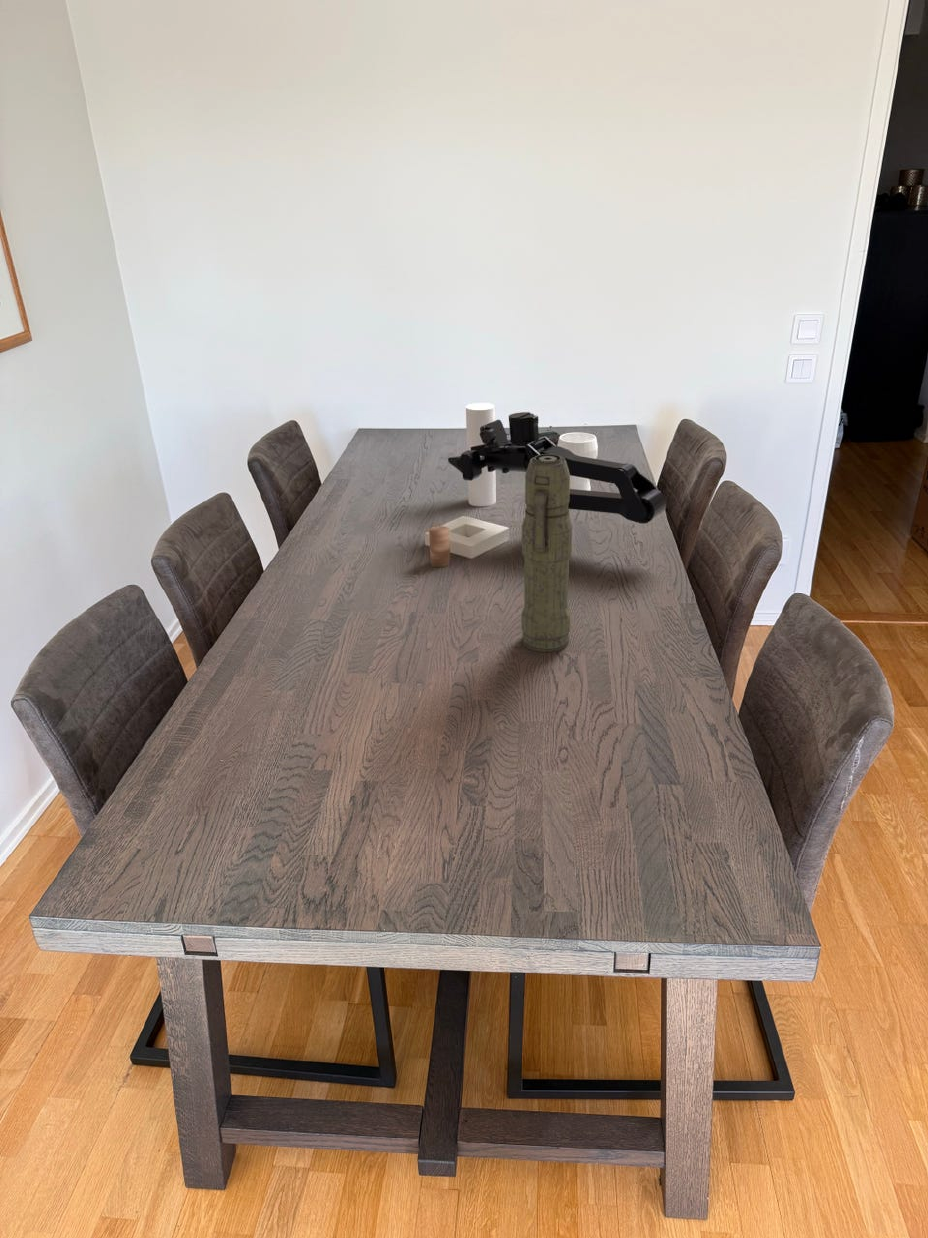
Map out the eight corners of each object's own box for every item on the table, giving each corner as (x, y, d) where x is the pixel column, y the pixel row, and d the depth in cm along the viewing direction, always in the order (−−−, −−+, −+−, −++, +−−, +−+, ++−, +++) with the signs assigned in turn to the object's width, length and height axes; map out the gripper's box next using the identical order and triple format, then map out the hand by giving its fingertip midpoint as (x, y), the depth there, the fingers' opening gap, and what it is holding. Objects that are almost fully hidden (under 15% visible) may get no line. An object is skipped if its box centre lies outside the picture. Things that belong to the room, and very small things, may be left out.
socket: (509, 539, 216) (509, 527, 214) (471, 558, 206) (471, 546, 205) (463, 527, 224) (463, 515, 223) (425, 544, 214) (424, 532, 213)
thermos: (517, 654, 166) (516, 467, 150) (526, 625, 176) (526, 447, 161) (566, 658, 164) (570, 469, 149) (572, 628, 175) (577, 448, 159)
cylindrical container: (493, 506, 236) (491, 410, 225) (466, 505, 238) (463, 409, 226) (497, 497, 242) (496, 403, 231) (471, 496, 244) (468, 402, 233)
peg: (454, 562, 205) (453, 528, 201) (441, 568, 202) (440, 534, 198) (439, 557, 207) (438, 524, 204) (426, 564, 204) (424, 530, 201)
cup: (598, 498, 239) (600, 442, 233) (557, 499, 240) (558, 443, 233) (594, 485, 249) (596, 431, 242) (554, 486, 249) (555, 432, 242)
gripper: (532, 413, 215) (478, 411, 224) (487, 434, 202) (431, 431, 210) (536, 459, 219) (483, 455, 228) (492, 483, 206) (438, 478, 215)
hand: (459, 454), depth 220 cm, fingers open, 9 cm apart
